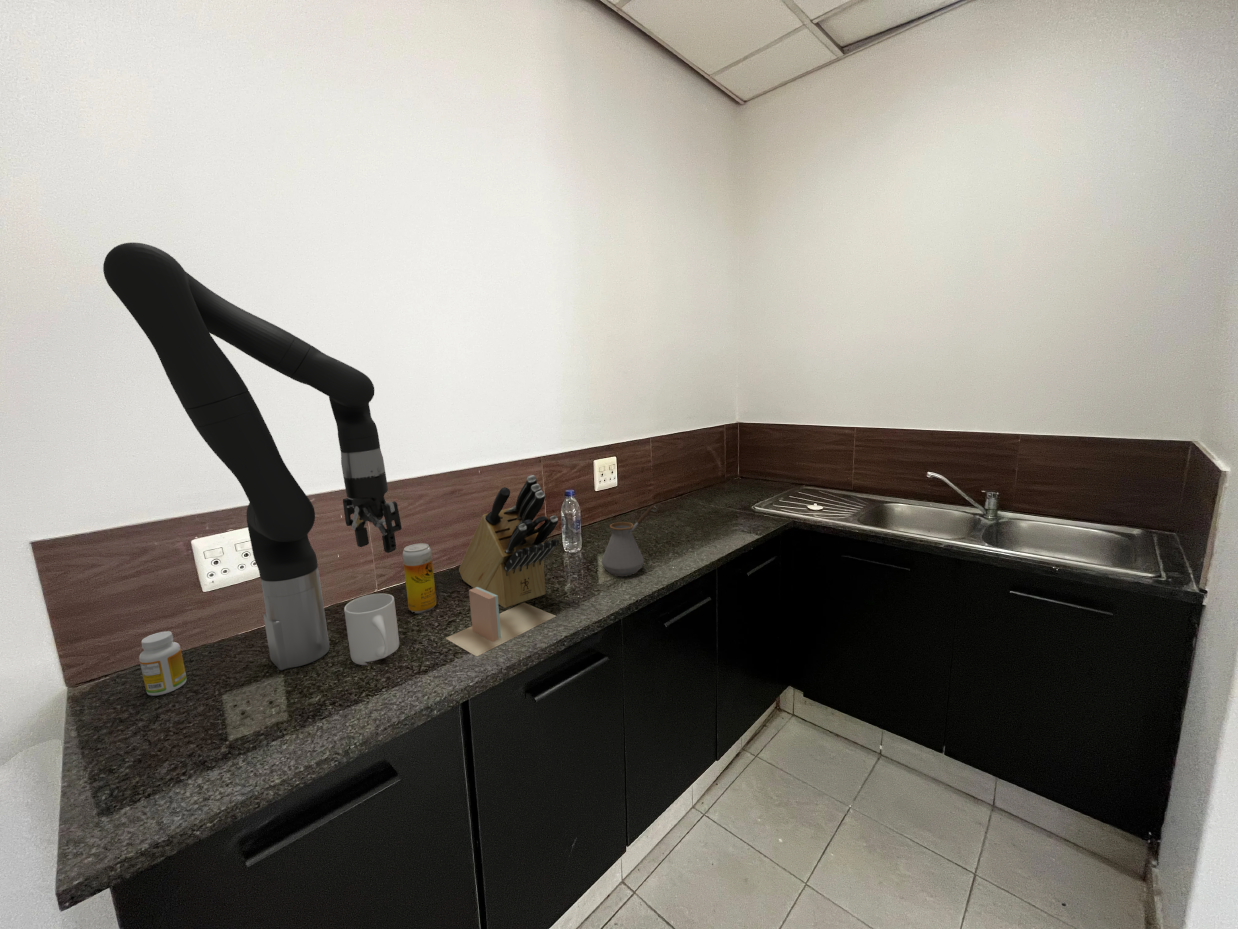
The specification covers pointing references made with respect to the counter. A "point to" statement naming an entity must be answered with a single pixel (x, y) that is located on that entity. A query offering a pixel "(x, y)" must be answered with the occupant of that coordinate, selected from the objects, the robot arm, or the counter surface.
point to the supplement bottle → (162, 664)
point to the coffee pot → (623, 549)
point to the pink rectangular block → (485, 613)
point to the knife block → (511, 547)
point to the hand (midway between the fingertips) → (376, 548)
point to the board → (502, 628)
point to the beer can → (419, 577)
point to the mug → (371, 627)
